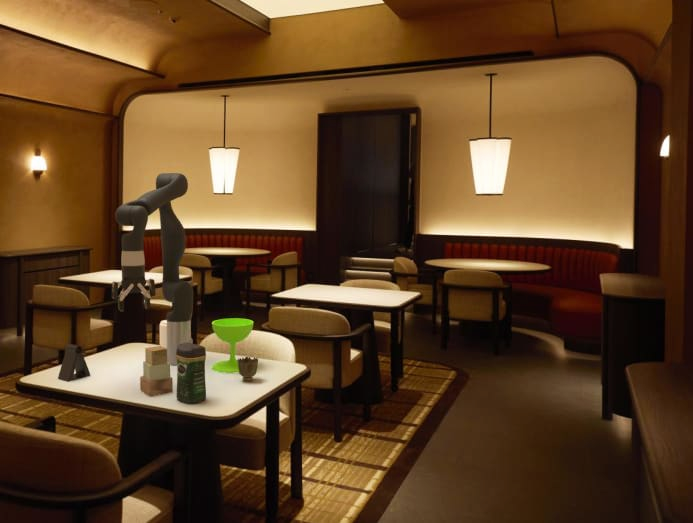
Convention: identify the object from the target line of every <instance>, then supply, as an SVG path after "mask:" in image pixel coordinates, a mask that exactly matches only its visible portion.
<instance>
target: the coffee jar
mask: <svg viewBox="0 0 693 523" xmlns="http://www.w3.org/2000/svg"><path fill="white" fill-rule="evenodd" d="M176 358H177V365H176V366H177V368H176V372H177V374H176V377H177V378H176V394H175V395H176V396H175V397H176V399H177V400H178V401H180V402H183V403H186V404H194V403H196V402H198V403H201V402H202V401H204V400H206V399H207V387H206V385H207V384H206V369H205V368H206V358H207V350H206V347H205V346H204V345H199V344H195V343H193V344H192V343H190V342H189V343H182V344H179V346H178V347H177V351H176ZM200 401H201V402H200ZM196 404H197V403H196Z"/></svg>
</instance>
